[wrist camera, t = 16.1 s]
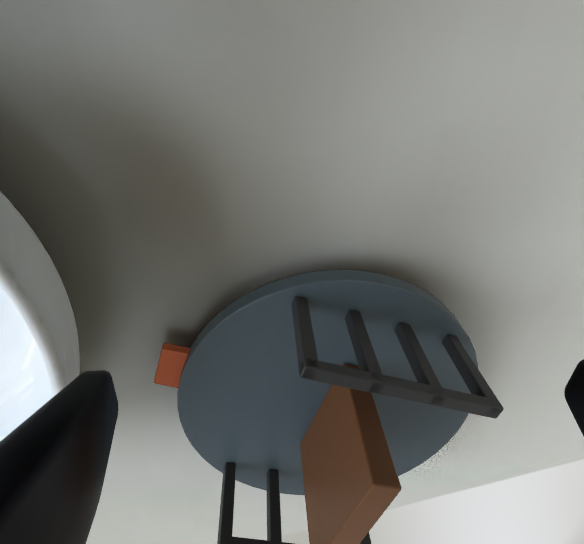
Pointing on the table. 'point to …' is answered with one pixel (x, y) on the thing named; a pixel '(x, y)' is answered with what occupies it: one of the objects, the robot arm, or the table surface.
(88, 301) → the table surface
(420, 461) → the drying rack
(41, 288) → the serving bowl
